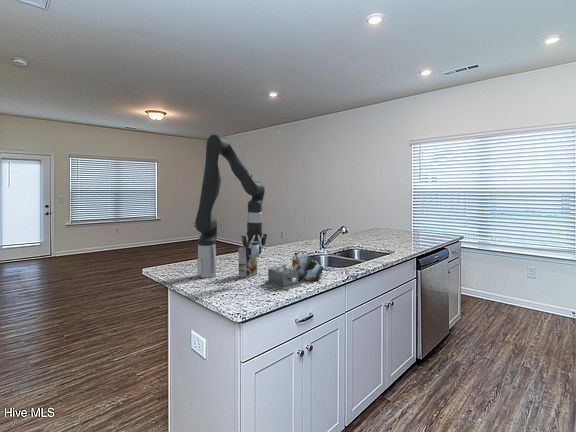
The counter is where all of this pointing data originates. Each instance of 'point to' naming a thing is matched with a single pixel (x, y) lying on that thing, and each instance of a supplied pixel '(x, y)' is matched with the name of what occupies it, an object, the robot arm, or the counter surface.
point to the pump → (254, 250)
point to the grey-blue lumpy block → (306, 267)
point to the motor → (283, 277)
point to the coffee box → (246, 264)
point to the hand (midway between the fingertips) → (254, 254)
